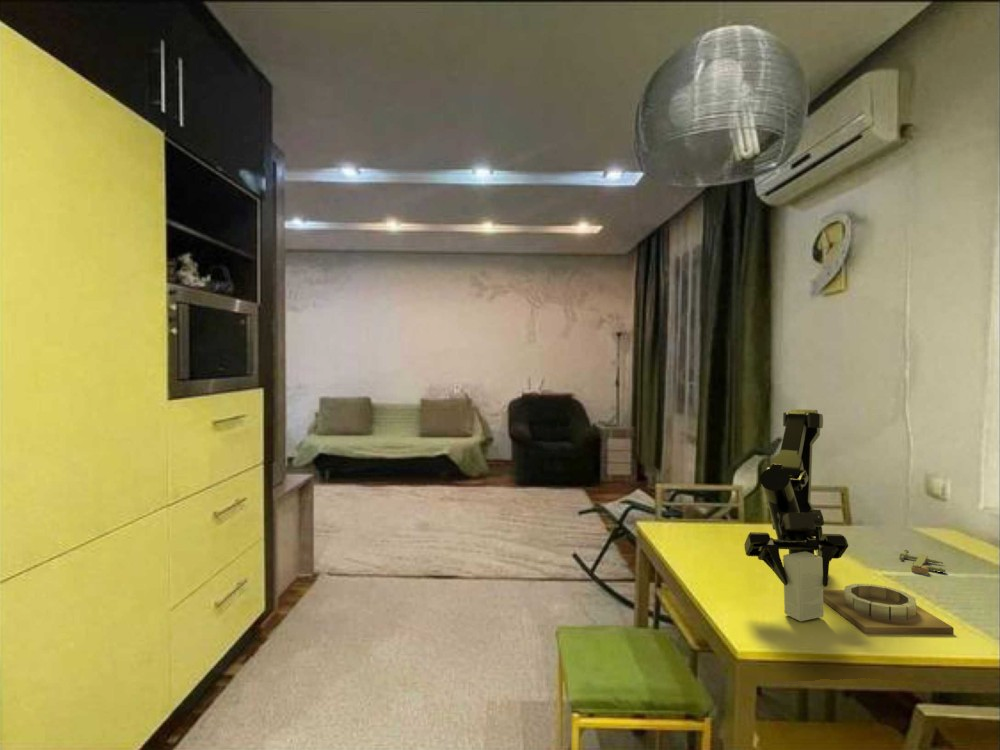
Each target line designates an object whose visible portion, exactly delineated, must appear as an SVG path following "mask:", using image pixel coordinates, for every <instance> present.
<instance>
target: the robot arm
mask: <svg viewBox="0 0 1000 750" xmlns="http://www.w3.org/2000/svg"><path fill="white" fill-rule="evenodd" d="M782 415H783V417H782V421H783V422H782V423H783V424H782V426H783V427H785V428H784V432H783V437H782V440H781V441H782V442H781V446H780V451H779V453H778V454H776V455H775V456H774V457H773V456H772V458H771V462H770V465H769V466H768V467H767V468H766V469H765V470H764V471H763V472H762V473H761V474H760V476H759V483H760V485H761V488H762V491H763V494H764V496H765V499H766V501H767V504H768V508H769V512H770V515H771V520H772V530H775V535H776V538H777V539H776V538H773V537H771V535H770V534H769V532H760V531H758V532H757V531H756V532H755V531H754V532H752V531H751V532H749V533H748V534H747V536H746V540H745V542H744V545H743V546H744V551H745V555H746V556H747V557H757V560H759V561H763V562H764V563H765V564H766V565H767V566H768V567H769V569H771V570H772V571H773V573H775V575H776V577H777V578H778V579H779V580H780V581H781V583H782V584H783V586H784V585H787V584H788V582H787V577H786V573H785V570H784V564H783V562H782V559H781V556H780V550H788V554H793V553H800V552H805V551H806V552H809V553H812V554H814V555H817V556H820V557H822V561H823V588H824V587H825V588H826V587H827V586H828V582H829V569H830V563H831V561H832V560H833V559H837V560H838V559H840V558H842V557H843V555H844V554H845V552H846V550H847V549H848V547H849V543H848V540H847V538H846V536H845V535H843V534H841V533H823V526H824V525H825V521H824V515H823V514H822V513H823V512H822V510H821V509H815V508H814V506H813V505H812V503H811V498H812V497H811V496H812V493H811V492H812V468H813V467H812V466H813V465H812V463H813V445H814V444H815V442H816V441H817V440H818V438H819V437H820V435H821V429H823V427H824V417H823V416H824V415H823V414H822V413H819V412H818V409H802V408H801V409H800V408H799V409H796V408H791V409H790V410H789V411H786V412H783V414H782ZM815 553H816V554H815Z"/></svg>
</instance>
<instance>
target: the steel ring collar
mask: <svg viewBox="0 0 1000 750" xmlns="http://www.w3.org/2000/svg"><path fill="white" fill-rule="evenodd" d="M843 590H844V604H845V605H846V606H848V607H849V608H851V609H852V610H854V611H856V612H859V613H861V614H864V615H867V616H871V617H875V618H880V619H886V620H889V619H890V620H910V619H912V618H915V617H916V605H917V600H916V597H914V596H912V595H911V594H909V593H907V592H905V591H903V590H900V589H896V588H894V587H893V588H892V587H891V586H890V587H889V586H886V585H880V584H879V585H878V584H873V583H870V584H869V583H853V584H848V585H846V586H844V589H843ZM862 598H875V599H881V600H887V601H890V602H893V603H896V604H899V605H886V604H880V603H875V602H870V601H867V600H864V599H862Z"/></svg>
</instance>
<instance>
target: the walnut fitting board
mask: <svg viewBox="0 0 1000 750" xmlns="http://www.w3.org/2000/svg"><path fill="white" fill-rule="evenodd" d="M862 599H864V600H867V601H870V602H875V603H880V604H886V605H899V604H896V603H893V602H890V601H887V600H881V599H875V598H862ZM823 603H825V604H826V605H828V606H829V607H830V608H831V609H833V610H834V611H835V612H837V613H838V614H839V615H840V616H842V617H843V618H844V619H846V620H847V621H848V622H849V623H851V624H852V625H853V626H855V627H856V628H857V629H859V630H860V631H861V632H863V633H864V635H865V634H866V635H867V634H869V635H870V634H872V635H876V634H877V635H880V634H881V635H897V634H899V635H900V634H902V635H905V634H906V635H954V634H955V633H954V627H953V626H952V625H951V624H949V623H947V622H945V621H944V620H942V619H941V618H938V617H937V616H935V615H933V614H931V613H930V612H928V610H925V609H923V608H922V607H920V606H919V605H917V604H916V617H915V618H912V619H910V620H890V619H889V620H886V619H880V618H875V617H871V616H867V615H864V614H861V613H859V612H856V611H854V610H852V609H851V608H849V607H848V606H846V605H845V604H844V589H823Z"/></svg>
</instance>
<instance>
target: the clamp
mask: <svg viewBox="0 0 1000 750" xmlns="http://www.w3.org/2000/svg"><path fill="white" fill-rule="evenodd" d="M908 554H909V550H908V549H905V550H904V551H903V552H900V553H899V561H904V560H905V559H906V560H907V559H911V560H915V561H914V562H913V563H912V565H911V566H910V567H911V571H912V572H911V573H913V572H916V573H915V574H918V573H922V574H921V575H923V574H928V572H929V573H930V571H931V570H935V571H940V572H945V573H946V568H945V567H941V566H931V565H926V564H925V563H924V562H927V563H931V562H932V564H940V563H941V565H943V564H944V561H940V560H936V559H933V558H929V556H928V555H927V554H921V553H920V554H919V556H916V555H915V556H914V555H910V554H909V555H908ZM935 571H934V572H935ZM928 575H929V574H928Z"/></svg>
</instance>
